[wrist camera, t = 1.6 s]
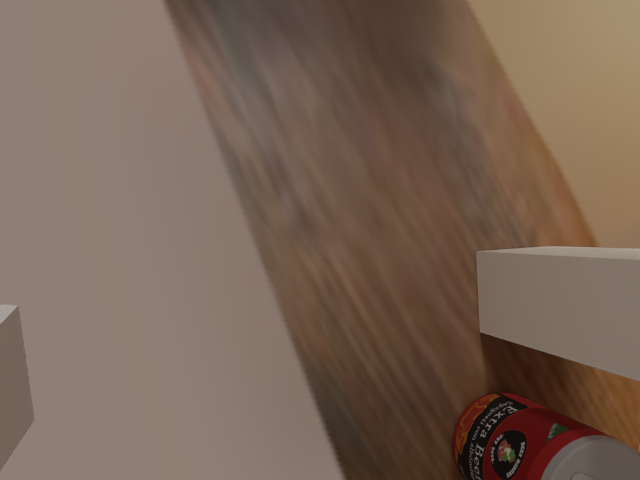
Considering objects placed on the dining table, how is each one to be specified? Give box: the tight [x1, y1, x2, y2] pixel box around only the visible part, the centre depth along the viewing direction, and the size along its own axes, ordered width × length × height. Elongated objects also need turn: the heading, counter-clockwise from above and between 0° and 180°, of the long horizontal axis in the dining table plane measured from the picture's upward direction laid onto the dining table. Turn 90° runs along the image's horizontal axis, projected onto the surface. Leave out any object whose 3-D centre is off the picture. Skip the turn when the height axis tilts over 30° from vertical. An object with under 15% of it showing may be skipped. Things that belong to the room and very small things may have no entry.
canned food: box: [453, 393, 640, 480], centre depth 39 cm, size 8×8×11 cm
